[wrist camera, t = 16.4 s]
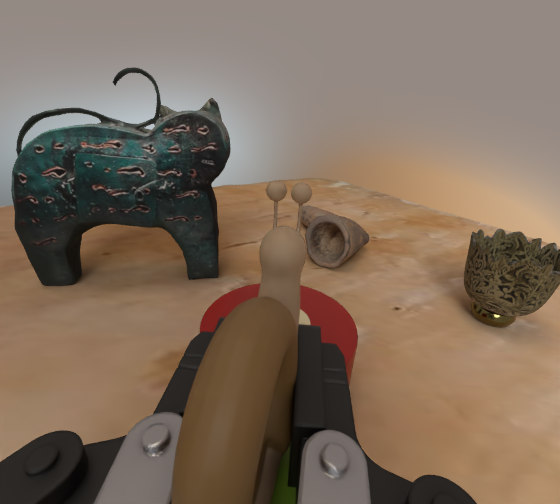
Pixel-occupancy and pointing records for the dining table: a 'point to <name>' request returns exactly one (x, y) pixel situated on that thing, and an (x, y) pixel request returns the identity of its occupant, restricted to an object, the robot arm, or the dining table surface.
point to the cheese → (312, 312)
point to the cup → (509, 276)
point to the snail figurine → (248, 386)
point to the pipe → (331, 236)
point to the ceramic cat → (120, 184)
